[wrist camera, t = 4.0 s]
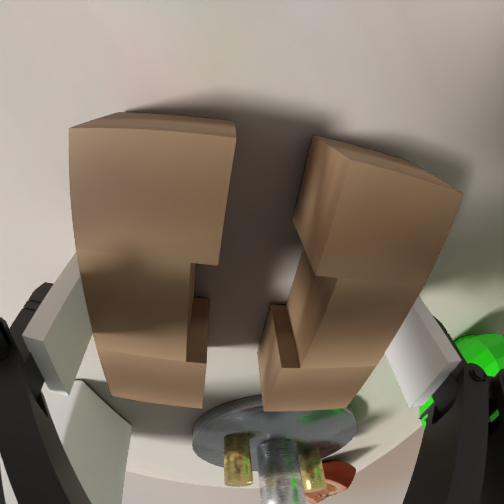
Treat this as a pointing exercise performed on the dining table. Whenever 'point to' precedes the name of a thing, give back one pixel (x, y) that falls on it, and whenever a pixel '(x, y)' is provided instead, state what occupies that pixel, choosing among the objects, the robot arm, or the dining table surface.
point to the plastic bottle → (478, 358)
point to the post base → (271, 428)
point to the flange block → (208, 249)
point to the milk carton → (87, 443)
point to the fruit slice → (333, 480)
